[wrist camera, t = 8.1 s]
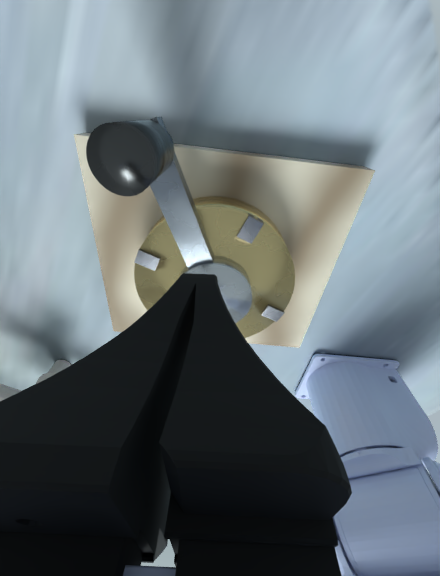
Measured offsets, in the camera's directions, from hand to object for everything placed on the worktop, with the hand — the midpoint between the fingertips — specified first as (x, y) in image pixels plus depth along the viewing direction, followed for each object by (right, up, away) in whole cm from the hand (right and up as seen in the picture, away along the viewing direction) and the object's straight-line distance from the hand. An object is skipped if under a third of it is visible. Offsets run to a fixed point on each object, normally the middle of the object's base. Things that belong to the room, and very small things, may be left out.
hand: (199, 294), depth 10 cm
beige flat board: (+1, +3, +11) cm, 11 cm away
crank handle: (0, +4, +8) cm, 9 cm away
